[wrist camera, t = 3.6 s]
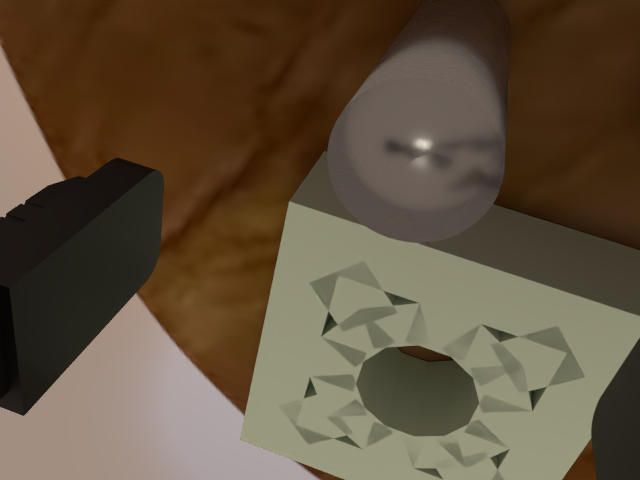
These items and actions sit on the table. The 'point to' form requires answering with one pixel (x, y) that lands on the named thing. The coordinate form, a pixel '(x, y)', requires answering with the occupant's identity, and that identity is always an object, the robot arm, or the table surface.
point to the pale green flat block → (437, 345)
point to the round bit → (428, 126)
